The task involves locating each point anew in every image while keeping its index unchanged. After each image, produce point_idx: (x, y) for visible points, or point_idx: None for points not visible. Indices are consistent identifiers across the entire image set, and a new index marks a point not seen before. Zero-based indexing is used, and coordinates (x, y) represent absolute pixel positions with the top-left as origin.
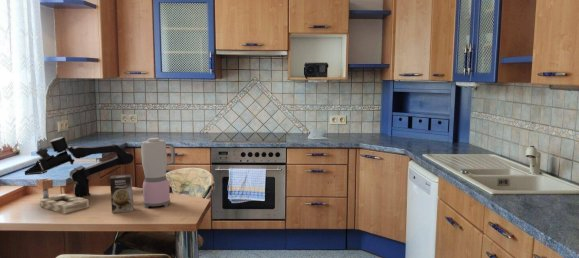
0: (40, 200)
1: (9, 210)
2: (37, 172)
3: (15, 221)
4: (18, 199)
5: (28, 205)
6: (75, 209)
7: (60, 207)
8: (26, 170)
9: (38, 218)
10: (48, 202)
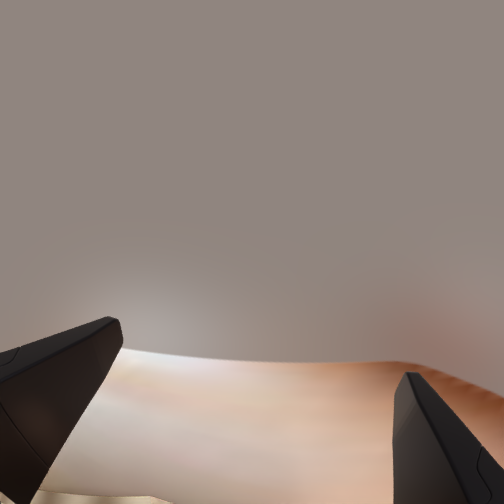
0: (151, 497)
1: (245, 376)
2: (40, 452)
3: None
4: (470, 412)
5: (269, 466)
6: None
7: None
8: (84, 325)
9: None
10: (77, 495)
